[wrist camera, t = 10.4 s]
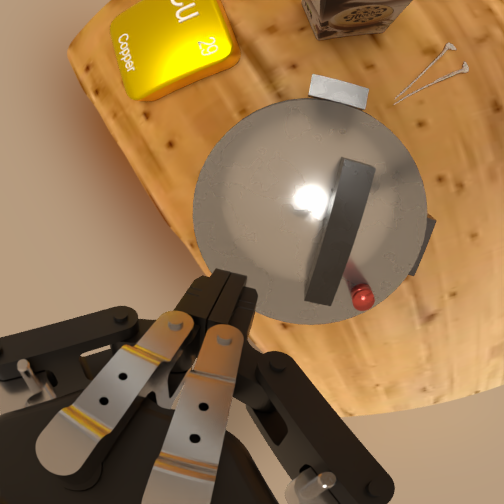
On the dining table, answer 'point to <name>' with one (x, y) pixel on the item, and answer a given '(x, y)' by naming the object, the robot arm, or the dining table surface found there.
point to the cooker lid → (311, 210)
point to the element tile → (171, 45)
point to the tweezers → (463, 70)
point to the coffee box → (351, 16)
